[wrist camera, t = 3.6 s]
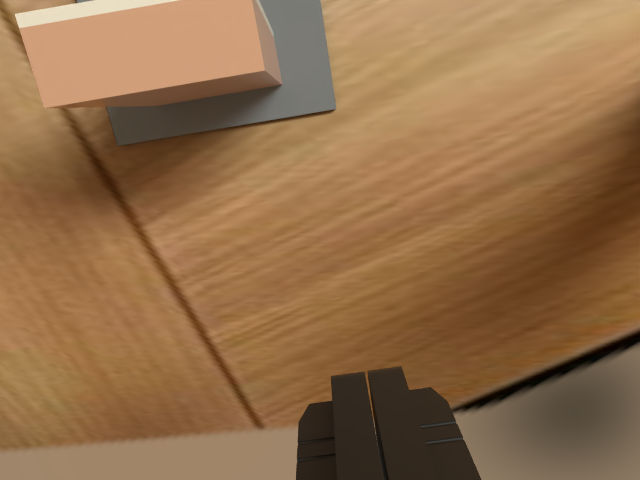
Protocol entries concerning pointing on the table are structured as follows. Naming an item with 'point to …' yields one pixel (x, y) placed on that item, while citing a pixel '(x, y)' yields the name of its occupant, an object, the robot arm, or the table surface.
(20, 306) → the table surface
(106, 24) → the peach rectangular block
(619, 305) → the table surface
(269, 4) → the mat
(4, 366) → the table surface
